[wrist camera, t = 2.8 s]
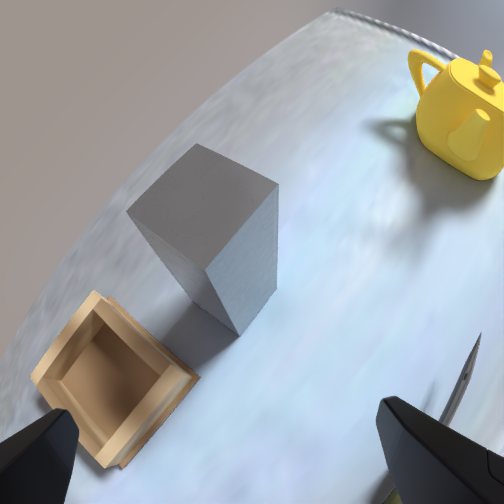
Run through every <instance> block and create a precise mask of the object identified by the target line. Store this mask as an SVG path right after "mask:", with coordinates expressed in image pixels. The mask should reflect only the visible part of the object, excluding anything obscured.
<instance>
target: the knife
mask: <svg viewBox="0 0 504 504" xmlns="http://www.w3.org/2000/svg"><path fill="white" fill-rule="evenodd" d="M480 339H481V333H480V335H479V337H478V339H477V341H476V343H475V345H474V347H473V349H472V351H471V353H470V355H469V357H468V359H467V361H466V363H465V365H464V367H463V369H462V372H461V374H460V376H459V379H458V381H457V383H456V385H455V388H454V390H453V392H452V394H451V396H450V399H449V401H448V403H447V405H446V407H445V409H444V411H443V413H442V415H441V417H440V419H439V422H440V423H442V424H444V425H446V426H447V427H448V426H449V424H450V422H451V420H452V418H453V416H454V414H455V412H456V410H457V408H458V406H459V404H460V402H461V400H462V397H463V395H464V393H465V390H466V388H467V386H468V383H469V381H470V379H471V375H472V372H473V368H474V365H475V361H476V357H477V353H478V349H479V345H480ZM382 504H402V502H401V499H400V497H399V494H398V492H397V489H396V487H395V488H394V490H393V491H392V492H391V494H390V495H389V496H388V497H387V499H386V500H385V501H384V502H383V503H382Z"/></svg>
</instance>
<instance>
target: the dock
mask: <svg viewBox="0 0 504 504" xmlns="http://www.w3.org/2000/svg"><path fill="white" fill-rule="evenodd" d="M30 378H31V379H32V381H33V382H34V384H35V385H36V387H37V388H38V390H39V391H40V392H41V394H42V395H43V397H44V398H45V399H46V401H47V402H48V404H49V405H50V406H51V408H52V409H53V410H54V409H55V408H61V409H67V410H68V411H69V412H70V413H71V415H72V417H73V419H74V420H75V422H76V424H77V426H78V428H79V439H78V441H79V442H80V443H81V444H82V445H83V447H84V448H85V449H86V450H87V451H88V452H89V453H90V454H91V455H92V456H93V457H94V458H95V459H96V461H97V462H98V463H99V464H100V465H101V466H102V467H103V468H104V469H105V468H108V467H111V466H114V465H117V464H118V465H119V466H120V467H121V468H124V467H126V466H127V465H128V464H129V462H130V461H131V460H132V459H133V458H134V457H135V455H136V454H137V453H138V452H139V451H140V450H141V449H142V447H143V446H144V445H145V444H146V443H147V442H148V440H149V439H150V438H151V437H152V436H153V434H154V433H155V432H156V431H157V430H158V429H159V427H160V426H161V425H162V424H163V423H164V421H165V420H166V419H167V418H168V417H169V415H170V414H171V413H172V412H173V411H174V409H175V408H176V407H177V406H178V405H179V403H180V402H181V401H182V400H183V398H184V397H185V396H186V395H187V394H188V392H189V391H190V390H191V389H192V387H193V386H194V385H195V384H196V382H197V381H198V380H199V379H200V378H201V377H200V376H199V375H198V374H196V373H195V372H194V371H193V370H191V369H190V368H189V367H188V366H187V365H185V364H184V363H183V362H182V361H181V360H179V359H178V358H177V357H176V356H175V355H173V354H172V353H171V352H170V351H169V350H168V349H166V348H165V347H164V346H163V345H162V344H161V343H160V342H159V341H157V340H156V339H155V338H154V337H153V336H152V335H151V334H150V333H148V332H147V331H146V330H145V329H144V328H143V327H142V326H141V325H140V324H139V323H138V322H137V321H136V320H134V319H133V318H132V317H131V316H130V315H129V314H128V313H127V312H126V311H125V310H124V309H123V308H122V307H121V306H120V305H119V304H118V303H117V302H116V301H115V300H114V299H113V298H112V297H110V296H109V297H108V298H107V299H106V298H104V297H103V296H101V295H100V294H99V293H97V292H96V291H94V290H93V291H92V293H91V294H90V295H89V296H88V298H87V299H86V300H85V301H84V303H83V304H82V305H81V306H80V308H79V309H78V310H77V311H76V313H75V314H74V315H73V317H72V318H71V319H70V321H69V322H68V323H67V325H66V326H65V327H64V329H63V330H62V331H61V333H60V334H59V335H58V337H57V338H56V339H55V341H54V342H53V344H52V345H51V346H50V348H49V349H48V351H47V352H46V353H45V355H44V356H43V358H42V359H41V360H40V362H39V363H38V365H37V366H36V368H35V369H34V371H33V372H32V374H31V375H30Z"/></svg>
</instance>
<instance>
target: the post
mask: <svg viewBox="0 0 504 504" xmlns="http://www.w3.org/2000/svg"><path fill="white" fill-rule="evenodd" d="M278 193H279V184H278V183H276V182H274V181H272V180H270V179H268V178H266V177H264V176H262V175H260V174H258V173H256V172H254V171H252V170H251V169H249V168H247V167H245V166H243V165H241V164H239V163H237V162H235V161H232V160H230V159H228V158H226V157H224V156H222V155H220V154H218V153H216V152H214V151H212V150H210V149H208V148H206V147H203V146H201V145H199V144H197V143H196V144H195V145H194V146H193V147H192V148H191V149H190V150H188V151H187V152H186V153H185V154H184V155H183V156H182V157H181V158H180V159H179V160H178V161H176V162H175V163H174V164H173V165H172V166H171V167H170V168H169V169H168V170H167V171H166V172H165V173H164V174H163V175H162V176H161V177H160V178H159V179H158V180H156V181H155V182H154V183H153V184H152V185H151V186H150V187H149V188H148V189H147V190H146V191H145V192H144V193H143V194H142V195H141V196H140V197H139V198H138V199H137V201H136V202H135V203H134V204H133V205H132V206H131V207H130V208H129V209H128V210H127V211H126V212H127V214H128V215H129V216H130V218H131V219H132V221H133V222H134V224H135V225H136V226H137V228H138V229H139V231H140V232H141V233H142V235H143V236H144V238H145V239H146V240H147V242H148V243H149V244H150V246H151V247H152V248H153V250H154V251H155V253H156V254H157V255H158V257H159V258H160V259H161V261H162V262H163V263H164V265H165V266H166V267H167V269H168V270H169V271H170V272H171V274H172V275H173V276H174V278H175V279H176V280H177V282H178V283H179V284H180V285H181V287H182V288H183V289H184V290H185V292H186V293H187V294H188V296H189V297H190V298H191V299H192V301H193V302H195V303H196V304H197V305H198V306H200V307H201V308H202V309H204V310H205V311H206V312H208V313H209V314H210V315H212V316H213V317H214V318H216V319H217V320H218V321H220V322H221V323H222V324H224V325H225V326H226V327H228V328H229V329H230V330H232V331H233V332H235V333H236V334H237V335H239V336H241V335H242V334H243V332H244V331H245V330H246V328H247V327H248V326H249V324H250V323H251V322H252V320H253V319H254V318H255V317H256V315H257V314H258V313H259V311H260V310H261V309H262V307H263V306H264V305H265V303H266V302H267V301H268V299H269V298H270V297H271V295H272V294H273V293H274V291H275V290H276V289H277V252H278Z"/></svg>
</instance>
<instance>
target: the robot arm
mask: <svg viewBox="0 0 504 504" xmlns="http://www.w3.org/2000/svg"><path fill="white" fill-rule="evenodd" d="M376 426H377V429H378V433H379V437H380V440H381V444H382V448H383V451H384V455H385V459H386V463H387V466H388V469H389V472H390V474H391V477H392V479H393V482H394V484H395V487H396V489H397V492H398V494H399V497H400V499H401V502H402V504H504V457H502V456H500V455H498V454H496V453H494V452H492V451H490V450H487V449H486V448H485V447H483V446H481V445H479V444H477V443H476V442H474V441H472V440H470V439H468V438H467V437H465V436H463V435H461V434H460V433H458V432H456V431H454V430H453V429H451V428H449V427H447V426H446V425H444V424H442V423H440V422H439V421H437V420H435V419H434V418H432V417H430V416H429V415H427V414H425V413H424V412H422V411H420V410H418V409H417V408H415V407H413V406H412V405H410V404H409V403H407V402H405V401H404V400H402V399H400V398H399V397H397V396H390V397H386V398H383V399H382V400H381V401H380V404H379V408H378V412H377V416H376ZM78 439H79V428H78V426H77V424H76V422H75V420H74V419H73V417H72V415H71V413H70V412H69V411H68V410H67V409H61V408H55V409H54V410H52V411H51V412H49V413H47V414H46V415H44V416H43V417H41V418H40V419H38V420H36V421H35V422H33V423H32V424H30V425H28V426H27V427H25V428H24V429H22V430H21V431H19V432H17V433H16V434H14V435H12V436H11V437H9V438H8V439H6V440H4V441H3V442H1V443H0V504H64V501H65V497H66V494H67V490H68V486H69V483H70V479H71V475H72V471H73V466H74V460H75V455H76V449H77V444H78Z"/></svg>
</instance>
